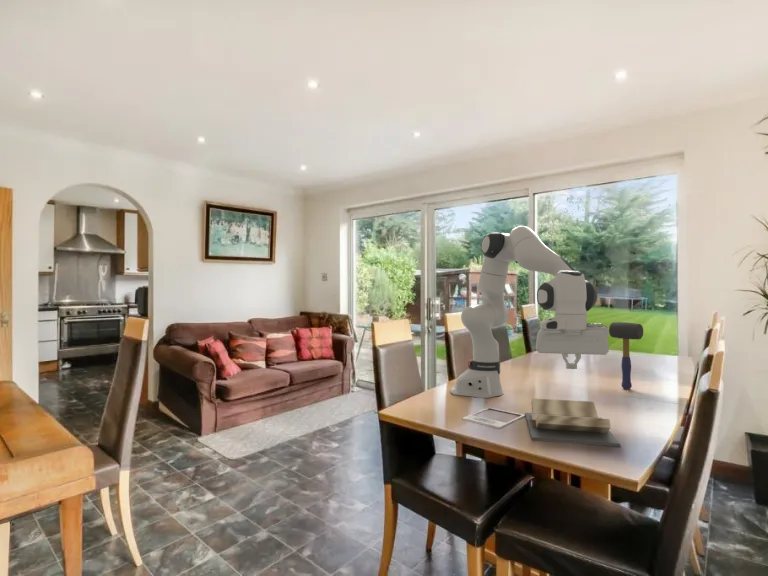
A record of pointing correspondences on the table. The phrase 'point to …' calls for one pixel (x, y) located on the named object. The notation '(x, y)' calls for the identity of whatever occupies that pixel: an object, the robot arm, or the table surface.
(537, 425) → the ash plank near
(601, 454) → the table surface
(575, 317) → the robot arm
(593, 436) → the underlay mat
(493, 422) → the photo frame
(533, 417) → the striped wooden plank
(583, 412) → the ash plank far
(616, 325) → the rubber mallet
